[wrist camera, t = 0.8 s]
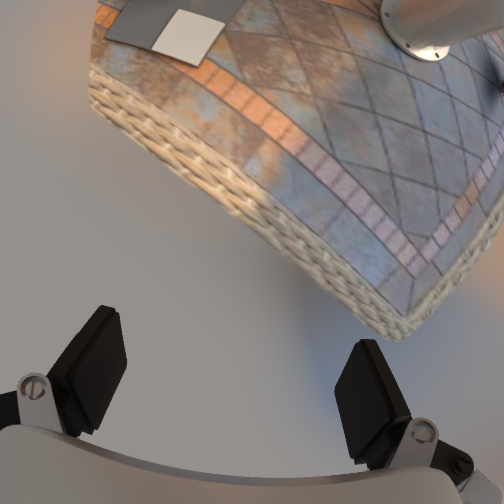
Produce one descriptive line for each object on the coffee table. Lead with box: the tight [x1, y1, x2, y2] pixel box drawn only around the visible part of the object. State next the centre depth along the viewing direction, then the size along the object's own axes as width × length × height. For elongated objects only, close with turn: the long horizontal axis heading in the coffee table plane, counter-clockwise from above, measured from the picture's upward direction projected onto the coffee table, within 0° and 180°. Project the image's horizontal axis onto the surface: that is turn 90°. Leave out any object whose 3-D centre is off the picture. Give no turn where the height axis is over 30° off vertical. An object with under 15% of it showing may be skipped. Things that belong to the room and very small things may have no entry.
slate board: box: [105, 0, 246, 68], centre depth 26 cm, size 14×16×1 cm
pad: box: [152, 9, 225, 66], centre depth 27 cm, size 7×7×1 cm
